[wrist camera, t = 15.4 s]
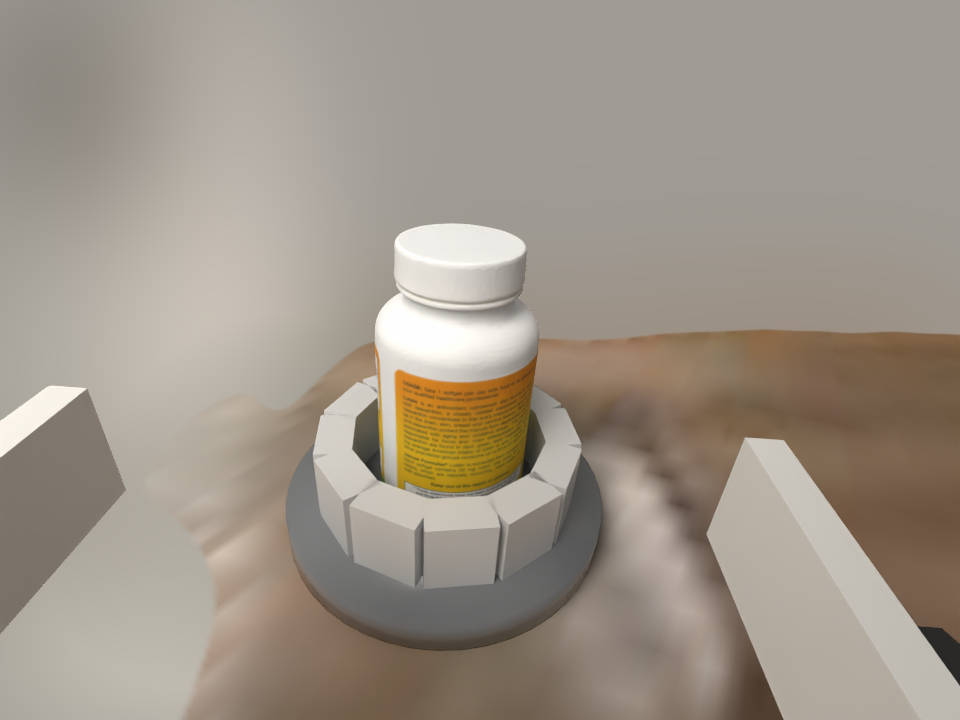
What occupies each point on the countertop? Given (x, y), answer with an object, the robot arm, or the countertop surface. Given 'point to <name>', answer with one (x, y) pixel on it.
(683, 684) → the countertop surface
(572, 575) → the bottle holder
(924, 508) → the countertop surface
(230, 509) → the countertop surface
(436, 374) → the supplement bottle
